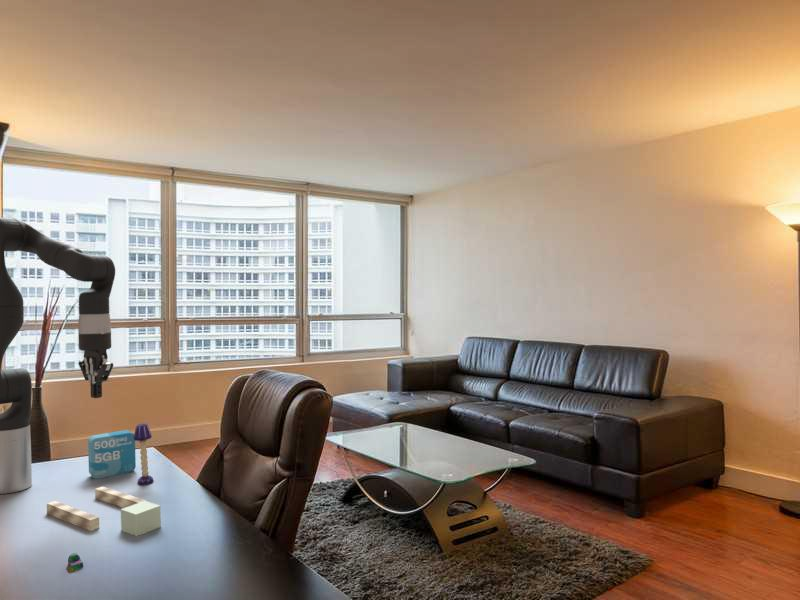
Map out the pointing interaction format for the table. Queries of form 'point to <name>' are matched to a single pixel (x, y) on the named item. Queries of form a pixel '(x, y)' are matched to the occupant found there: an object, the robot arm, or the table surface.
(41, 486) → the table surface
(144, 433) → the toy lamp
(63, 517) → the parallel wooden bars
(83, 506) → the table surface
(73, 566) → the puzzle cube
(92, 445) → the data package
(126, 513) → the sage block
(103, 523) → the table surface
